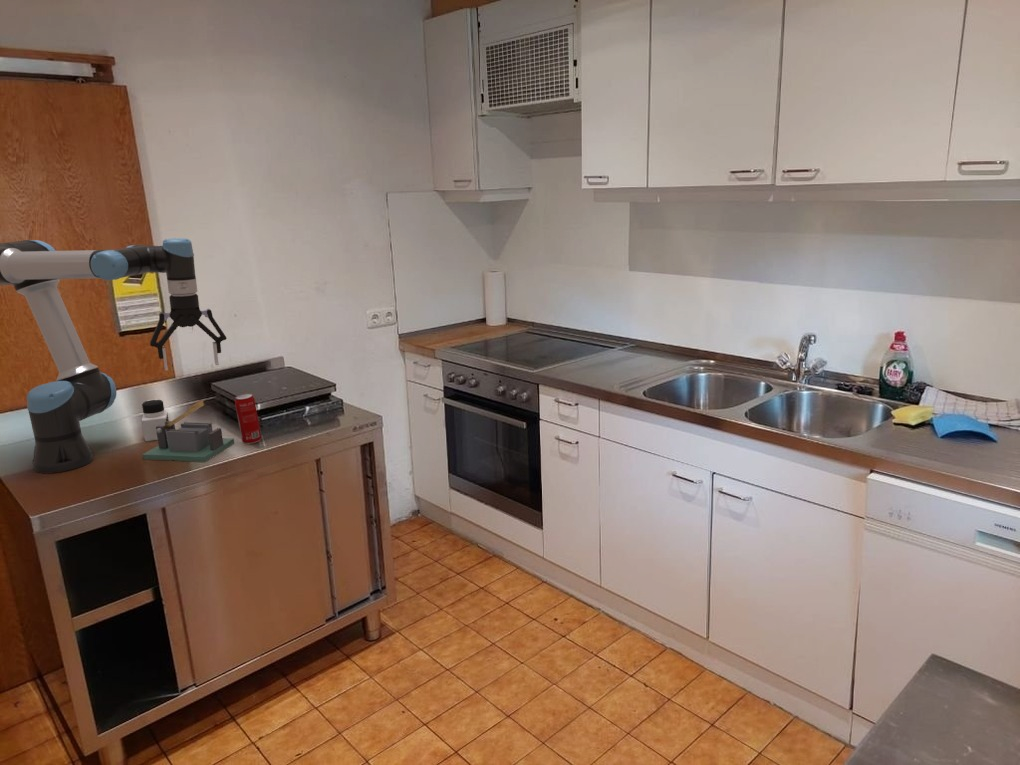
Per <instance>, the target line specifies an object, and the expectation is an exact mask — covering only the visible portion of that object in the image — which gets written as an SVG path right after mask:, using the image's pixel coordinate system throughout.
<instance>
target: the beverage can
mask: <svg viewBox="0 0 1020 765" xmlns="http://www.w3.org/2000/svg"><path fill="white" fill-rule="evenodd" d="M234 399H235V400H234V405H235V406H234V407H235V409H236V416H237V421H238V427H239V430H240V438H241V441H242V443H243V444H245V445H246V444H247V445H251V444H256V443H259V442H260V441H261V440H262V433H261V428H260V422H259V417H258V412H257V406H256V400H255V397H254V395H253V394H252V393H241V394H238V395H236V396H235V398H234Z"/></svg>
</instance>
